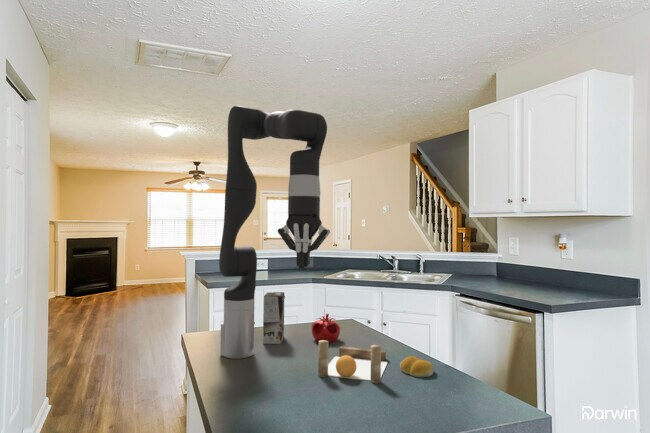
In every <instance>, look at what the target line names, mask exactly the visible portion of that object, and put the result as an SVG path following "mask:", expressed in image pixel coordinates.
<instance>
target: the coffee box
mask: <svg viewBox="0 0 650 433" xmlns="http://www.w3.org/2000/svg"><path fill="white" fill-rule="evenodd" d="M262 316H263V320H262V321H263V322H262V325H263V328H262V330H263V331H262V343H263V344H265V345H271V344H273V345H274V344H275V345H281V344H282V342H283V340H284V338H285V292H284V291H281V292H280V291H273V292H266V293H265V295H264V296H263V315H262Z"/></svg>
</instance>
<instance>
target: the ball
mask: <svg viewBox="0 0 650 433" xmlns="http://www.w3.org/2000/svg"><path fill="white" fill-rule="evenodd" d="M339 357H340V358H339V359H338V360H337V362H336V370H337V372H338V374H339V375H341V376H342V377H350V376H352V375H353V374H354V373H355V371H356V362H355V360H354V359H353V358H352V357H351V356H348V355H344V356H339ZM342 377H341V378H342Z"/></svg>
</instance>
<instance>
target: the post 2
mask: <svg viewBox="0 0 650 433" xmlns="http://www.w3.org/2000/svg"><path fill="white" fill-rule="evenodd" d="M370 349H371V381H370V383H371V384H380V383H381V382H382V377H381V350H382V346H381V345H378V344H372V345H370Z"/></svg>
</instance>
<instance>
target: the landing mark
mask: <svg viewBox="0 0 650 433" xmlns="http://www.w3.org/2000/svg"><path fill="white" fill-rule="evenodd" d="M340 357H341V356H337V355H336V356H334V357H333V358H332V359H331V360H330V362H328V376H327V377H335V378H342V379H343V378H344V379H351V380H361V381H368V382H371V360H370V359H360V358H353V359H354V360H355V362H356V371H355V373H354V374H353V375H352V376H350V377H342V376H341V375H339V374H338V372H337V370H336V362H337V360H338V359H339V358H340ZM387 365H388V361H386V360H385V361H381V378H382V377H383V374H384V372H385V369H386V367H387Z"/></svg>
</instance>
